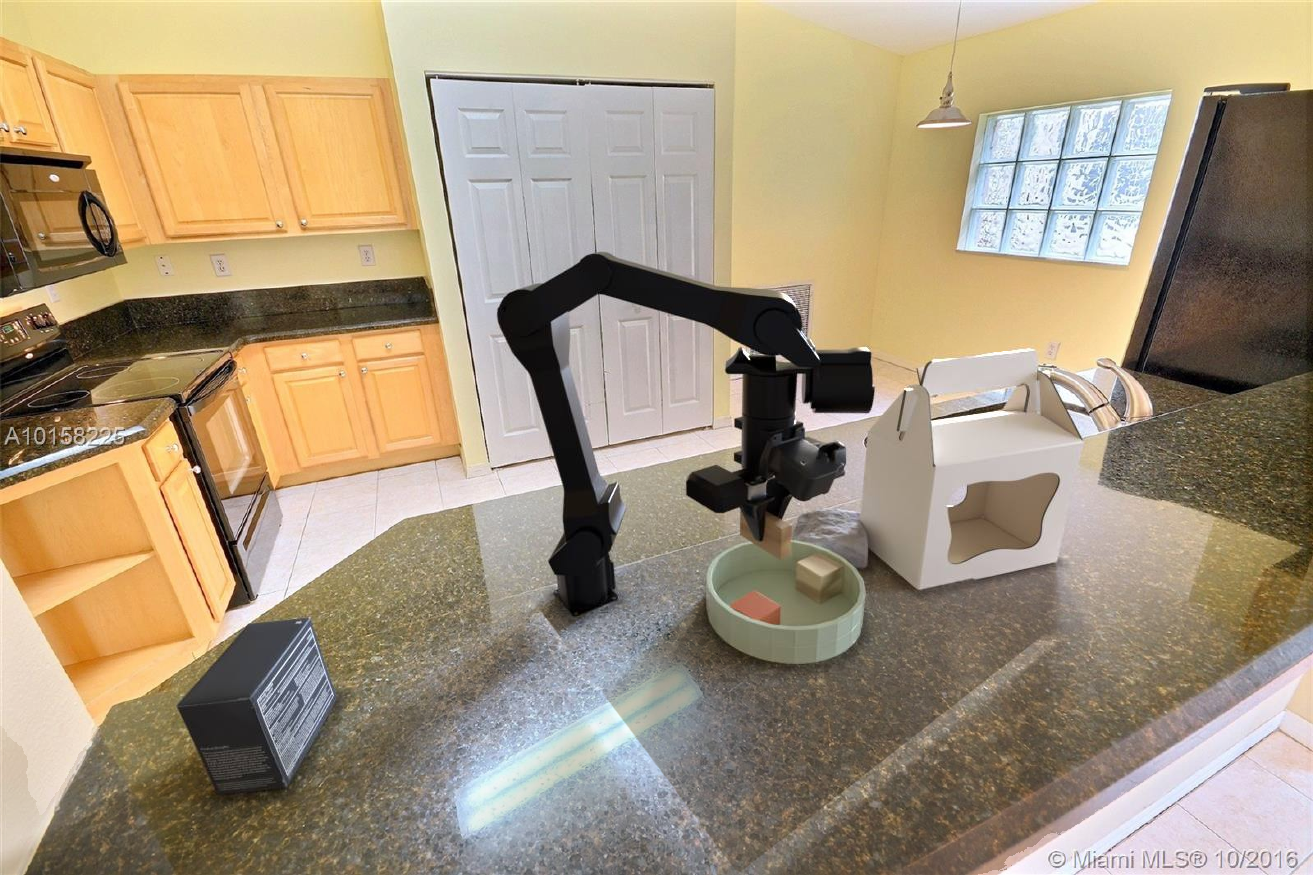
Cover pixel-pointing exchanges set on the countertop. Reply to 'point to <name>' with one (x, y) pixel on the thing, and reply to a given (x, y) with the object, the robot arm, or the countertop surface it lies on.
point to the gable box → (971, 474)
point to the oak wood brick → (771, 535)
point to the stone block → (835, 533)
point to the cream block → (819, 577)
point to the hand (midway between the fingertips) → (764, 537)
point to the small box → (260, 706)
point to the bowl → (783, 605)
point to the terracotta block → (758, 608)
